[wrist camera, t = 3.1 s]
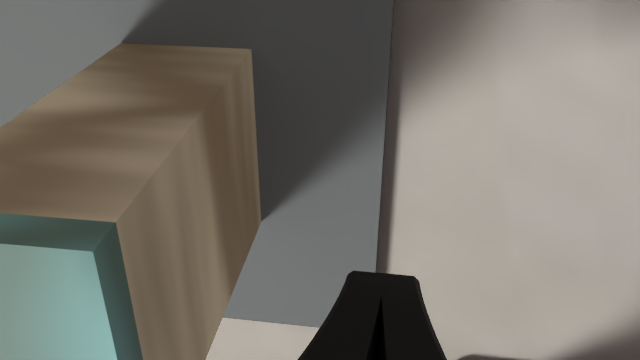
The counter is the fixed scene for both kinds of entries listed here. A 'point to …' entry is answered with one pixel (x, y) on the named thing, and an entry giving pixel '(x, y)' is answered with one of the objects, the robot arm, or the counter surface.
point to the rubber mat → (270, 114)
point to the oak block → (129, 206)
